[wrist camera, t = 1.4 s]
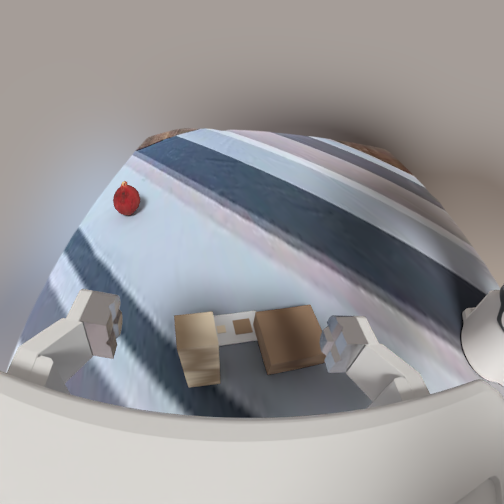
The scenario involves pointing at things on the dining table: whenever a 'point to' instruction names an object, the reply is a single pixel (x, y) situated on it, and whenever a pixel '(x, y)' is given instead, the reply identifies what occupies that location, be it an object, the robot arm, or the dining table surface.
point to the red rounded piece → (126, 199)
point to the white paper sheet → (235, 328)
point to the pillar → (198, 348)
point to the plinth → (288, 338)
